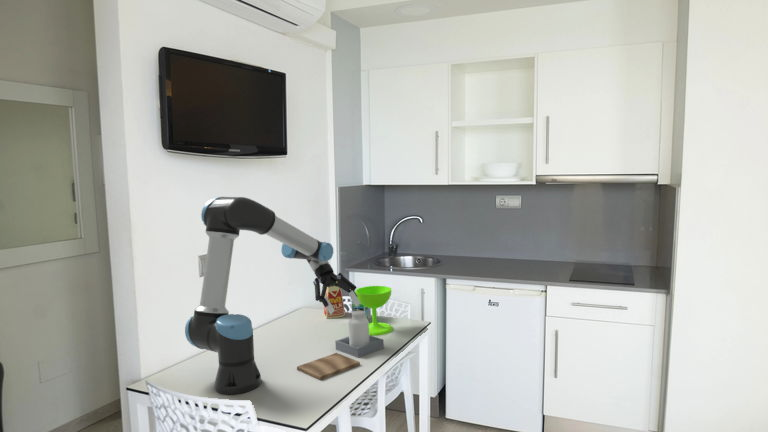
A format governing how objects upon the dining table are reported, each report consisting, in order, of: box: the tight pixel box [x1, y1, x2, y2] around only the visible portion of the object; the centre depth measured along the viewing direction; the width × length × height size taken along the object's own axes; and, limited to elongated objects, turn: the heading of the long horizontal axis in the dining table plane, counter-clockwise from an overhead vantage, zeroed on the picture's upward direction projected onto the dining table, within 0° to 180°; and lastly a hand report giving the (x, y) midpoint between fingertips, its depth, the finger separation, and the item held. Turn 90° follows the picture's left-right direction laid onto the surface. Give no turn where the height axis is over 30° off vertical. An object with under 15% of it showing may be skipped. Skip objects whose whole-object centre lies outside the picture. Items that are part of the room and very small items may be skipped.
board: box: [296, 352, 361, 381], centre depth 188 cm, size 18×14×1 cm
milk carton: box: [323, 281, 346, 319], centre depth 253 cm, size 9×9×20 cm
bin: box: [335, 335, 385, 359], centre depth 206 cm, size 14×14×4 cm
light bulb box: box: [351, 300, 372, 321], centre depth 244 cm, size 11×7×11 cm, turn 168°
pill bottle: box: [348, 310, 370, 348], centre depth 205 cm, size 8×8×15 cm
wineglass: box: [355, 285, 394, 337], centre depth 228 cm, size 16×16×18 cm
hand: (345, 308), depth 211 cm, fingers open, 13 cm apart
